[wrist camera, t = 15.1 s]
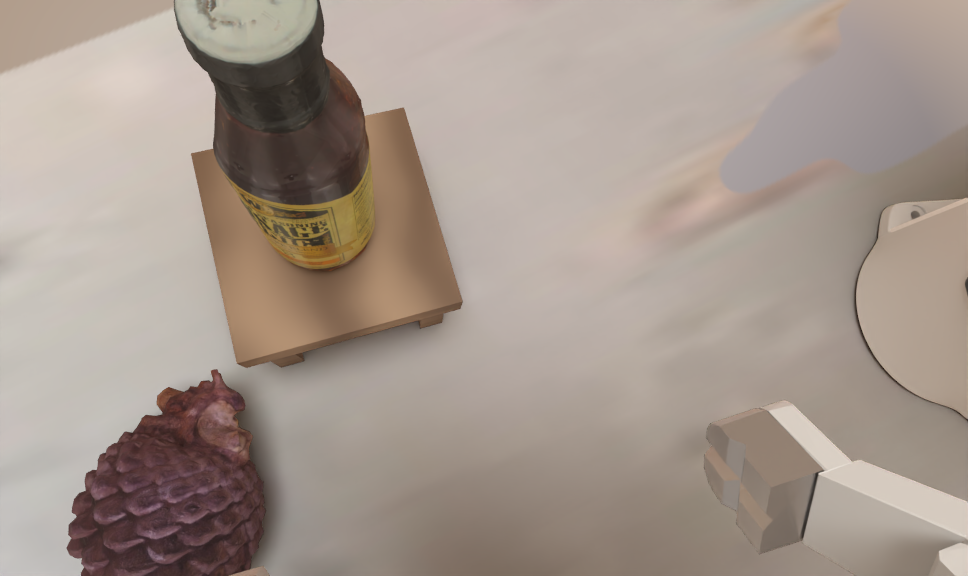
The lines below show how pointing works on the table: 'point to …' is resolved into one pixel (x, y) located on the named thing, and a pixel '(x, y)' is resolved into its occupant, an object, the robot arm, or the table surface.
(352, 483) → the table surface
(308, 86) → the sauce bottle
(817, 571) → the table surface
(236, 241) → the light brown wooden stool
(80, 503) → the pine cone
